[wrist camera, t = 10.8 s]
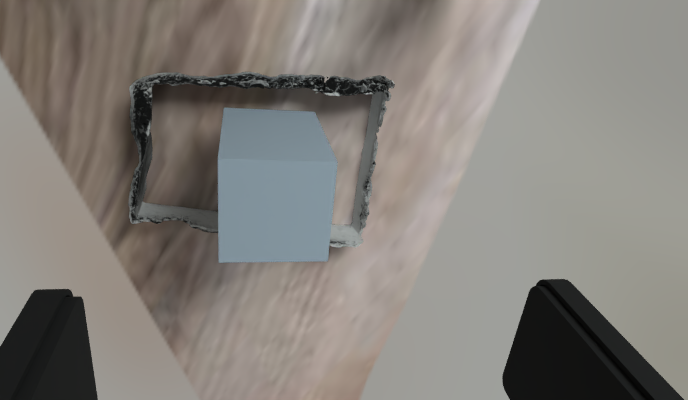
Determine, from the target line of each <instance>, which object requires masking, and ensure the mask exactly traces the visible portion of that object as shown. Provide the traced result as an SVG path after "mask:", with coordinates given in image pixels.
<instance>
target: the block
mask: <svg viewBox="0 0 688 400" xmlns="http://www.w3.org/2000/svg"><path fill="white" fill-rule="evenodd" d="M337 163H338V162H337V160H336V157H335V155H334V153H333V151H332V149H331V146H330V144H329V142H328V140H327V138H326V135H325V133H324V131H323V129H322V127H321V124H320V122H319V120H318V118H317V116H316V113H315V112H308V111H287V110H265V109H244V108H224V111H223V119H222V128H221V136H220V145H219V153H218V250H219V263H227V262H305V261H328V255H329V245H330V234H331V224H332V214H333V204H334V194H335V183H336V173H337Z"/></svg>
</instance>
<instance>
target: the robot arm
mask: <svg viewBox="0 0 688 400" xmlns="http://www.w3.org/2000/svg"><path fill="white" fill-rule="evenodd" d="M503 386H504V389H505V391H506V393H507V395H508V397H509V399H510V400H684V399H683V398H682V397H681V396H680V395H679V394H678V393H677V392H676V391H675V390H674V389H673V388H672V387H671V386H670V385H669V384H668V383H667V382H666V380H664V378H663V377H662V376H661V375H660V374H659V373H658V372H657V371H656V370H655V369H654V368H653V367H652V366H651V365H650V364H649V363H648V362H647V361H646V360H645V359H644V358H643V357H642V356H641V355H640V354H639V353H638V351H636V350H635V348H634V347H633V346H631V344H630V343H629V342H628V341H627V340H626V339H625V338H624V337H623V336H622V335H621V334H620V333H619V332H618V331H617V330H616V329H615V328H614V327H613V326H612V325H611V324H610V323H609V322H608V320H606V318H605V317H604V316H603V315H602V314H601V313H600V312H599V311H598V310H597V309H596V308H595V307H594V306H593V305H592V304H591V303H590V302H589V301H588V300H587V299H586V298H585V297H584V296H583V295H582V294H581V293H580V292H579V291H578V290H577V288H576V287H575V286H574V285H573V284H572V283H571V282H569V281H568V280H565V279H551V280H540V281H539V282H538V283H537V284H536V286H534V287H532V288H531V289H530V292H529V294H528V297H527V300H526V304H525V307H524V310H523V314H522V316H521V319H520V322H519V325H518V329H517V332H516V335H515V338H514V341H513V345H512V347H511V351H510V354H509V357H508V360H507V363H506V366H505V369H504V372H503ZM0 400H98V399H97V391H96V385H95V378H94V371H93V364H92V357H91V350H90V343H89V337H88V330H87V323H86V317H85V309H84V303H83V299H82V297H73V294H72V292H71V291H70V290H69V289H46V290H35V291H34V292H33V293H32V294H31V296H30V298H29V299H28V301H27V303H26V304H25V306H24V308H23V309H22V311H21V313H20V315H19V316H18V318H17V319H16V321H15V323H14V324H13V326H12V328H11V330H10V331H9V333H8V335H7V336H6V338H5V340H4V341H3V343H2V345H1V346H0Z"/></svg>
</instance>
